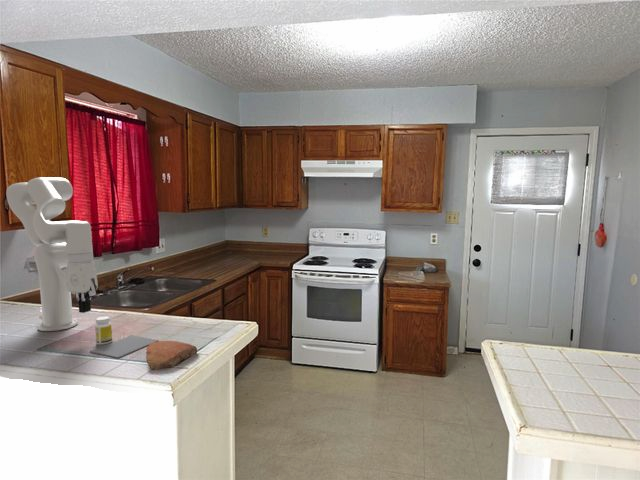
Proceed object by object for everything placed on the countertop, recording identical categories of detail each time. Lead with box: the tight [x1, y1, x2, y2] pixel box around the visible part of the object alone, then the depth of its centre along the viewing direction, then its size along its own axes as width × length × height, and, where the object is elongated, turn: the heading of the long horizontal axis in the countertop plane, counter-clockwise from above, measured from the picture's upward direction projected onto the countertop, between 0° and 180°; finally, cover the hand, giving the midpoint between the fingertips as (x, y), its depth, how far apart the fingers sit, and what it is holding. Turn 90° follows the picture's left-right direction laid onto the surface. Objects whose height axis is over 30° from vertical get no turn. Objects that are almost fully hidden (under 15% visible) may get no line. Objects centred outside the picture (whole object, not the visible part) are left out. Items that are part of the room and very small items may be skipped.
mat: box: [89, 334, 159, 359], centre depth 136 cm, size 12×16×1 cm
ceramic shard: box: [145, 340, 198, 370], centre depth 125 cm, size 15×6×15 cm
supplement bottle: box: [94, 316, 113, 346], centre depth 139 cm, size 5×5×8 cm
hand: (85, 311), depth 142 cm, fingers closed
